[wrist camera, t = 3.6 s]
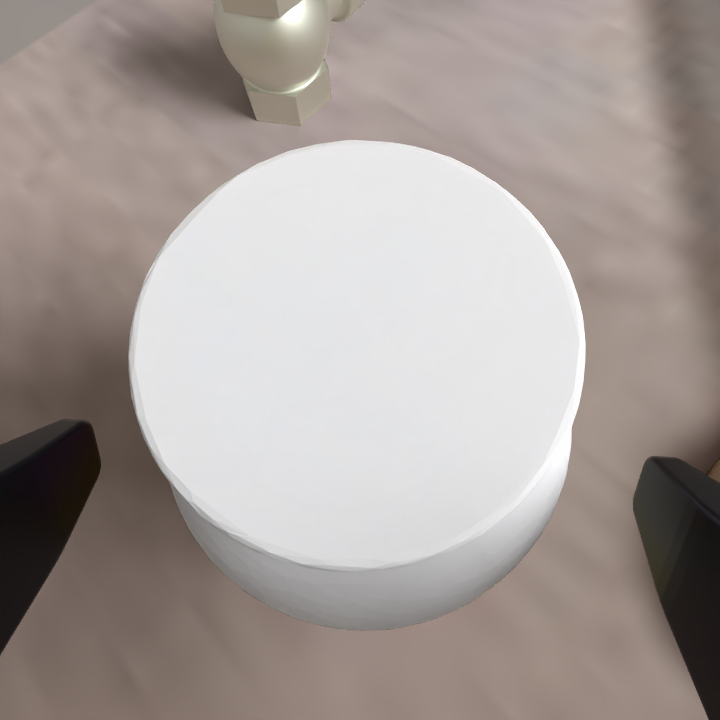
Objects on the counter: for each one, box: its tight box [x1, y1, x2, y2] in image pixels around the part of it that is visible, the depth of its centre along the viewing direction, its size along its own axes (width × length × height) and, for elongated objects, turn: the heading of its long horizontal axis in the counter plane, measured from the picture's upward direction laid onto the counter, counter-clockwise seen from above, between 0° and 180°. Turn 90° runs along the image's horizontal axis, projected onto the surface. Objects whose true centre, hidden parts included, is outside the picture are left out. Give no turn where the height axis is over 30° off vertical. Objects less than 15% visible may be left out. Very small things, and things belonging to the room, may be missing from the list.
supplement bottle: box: [128, 140, 585, 631], centre depth 12 cm, size 7×7×13 cm
